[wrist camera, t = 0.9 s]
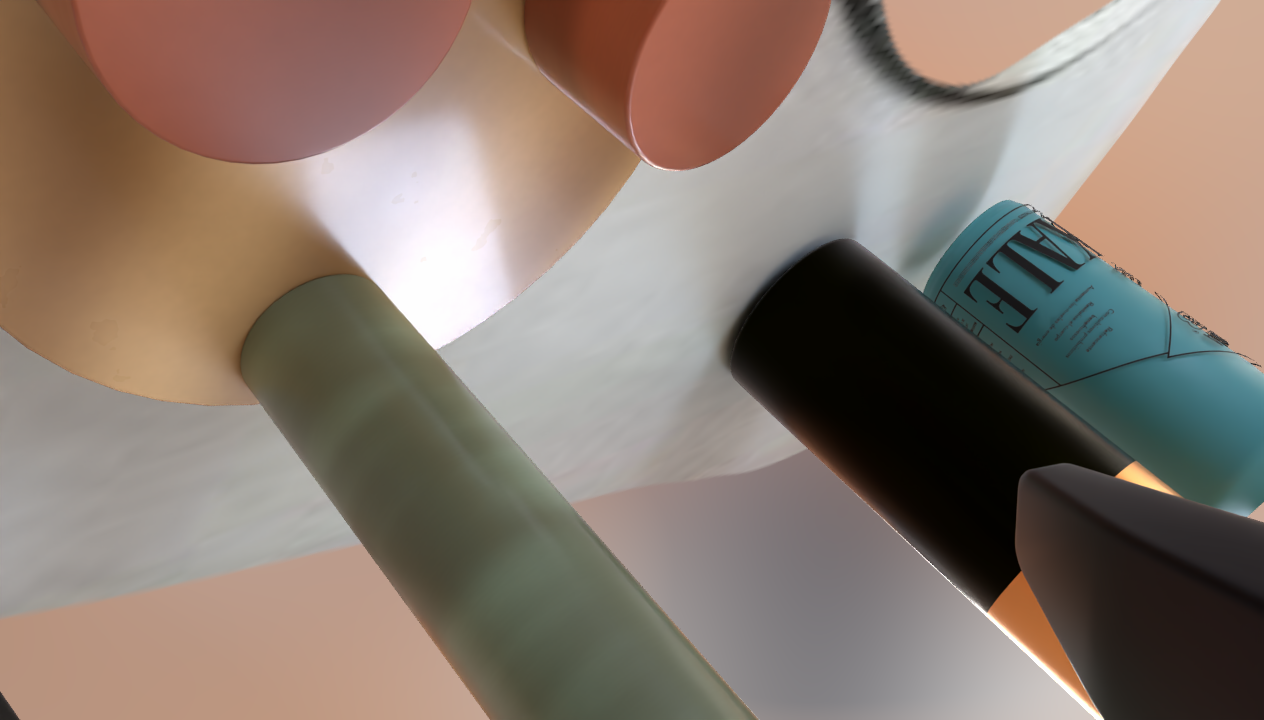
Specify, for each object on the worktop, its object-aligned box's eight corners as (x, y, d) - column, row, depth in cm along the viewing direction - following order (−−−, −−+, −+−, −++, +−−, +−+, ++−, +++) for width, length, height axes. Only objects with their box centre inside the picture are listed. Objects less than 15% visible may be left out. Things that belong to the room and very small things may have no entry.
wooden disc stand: (-174, 417, 16) (303, 1526, 9) (-131, -867, 9) (2368, -97, 2) (520, 323, 27) (967, 792, 20) (795, -275, 20) (1638, 145, 13)
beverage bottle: (930, 290, 50) (1309, 586, 41) (870, 296, 45) (1286, 635, 36) (1012, 177, 47) (1439, 470, 38) (957, 170, 42) (1434, 506, 33)
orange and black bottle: (843, 201, 37) (1376, 610, 28) (863, 279, 43) (1302, 632, 34) (703, 340, 37) (1193, 796, 28) (744, 397, 43) (1153, 783, 34)
